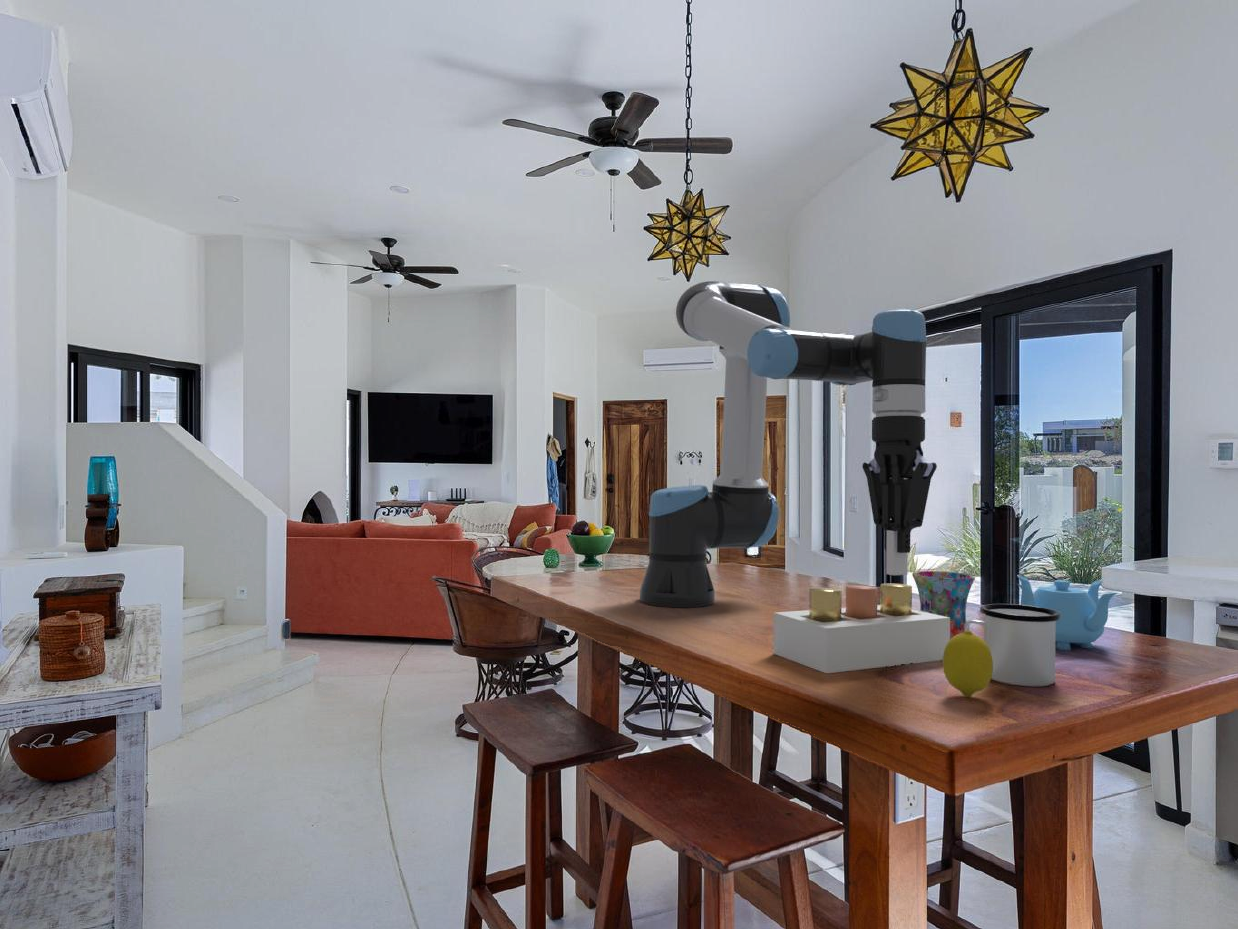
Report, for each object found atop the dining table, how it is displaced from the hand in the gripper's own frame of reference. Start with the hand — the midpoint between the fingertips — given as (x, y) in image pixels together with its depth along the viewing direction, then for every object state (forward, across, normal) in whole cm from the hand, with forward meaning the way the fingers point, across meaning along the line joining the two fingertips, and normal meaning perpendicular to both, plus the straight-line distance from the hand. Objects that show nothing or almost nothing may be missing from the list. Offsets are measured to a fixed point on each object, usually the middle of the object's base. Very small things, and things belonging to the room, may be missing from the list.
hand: (896, 574), depth 118 cm
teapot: (+12, +5, +30) cm, 32 cm away
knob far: (+7, 0, 0) cm, 7 cm away
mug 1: (+12, -4, +14) cm, 19 cm away
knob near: (+7, 0, -13) cm, 15 cm away
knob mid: (+7, 0, -7) cm, 9 cm away
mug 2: (+12, +16, +4) cm, 20 cm away
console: (+12, 0, -6) cm, 13 cm away
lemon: (+12, +21, -8) cm, 25 cm away
